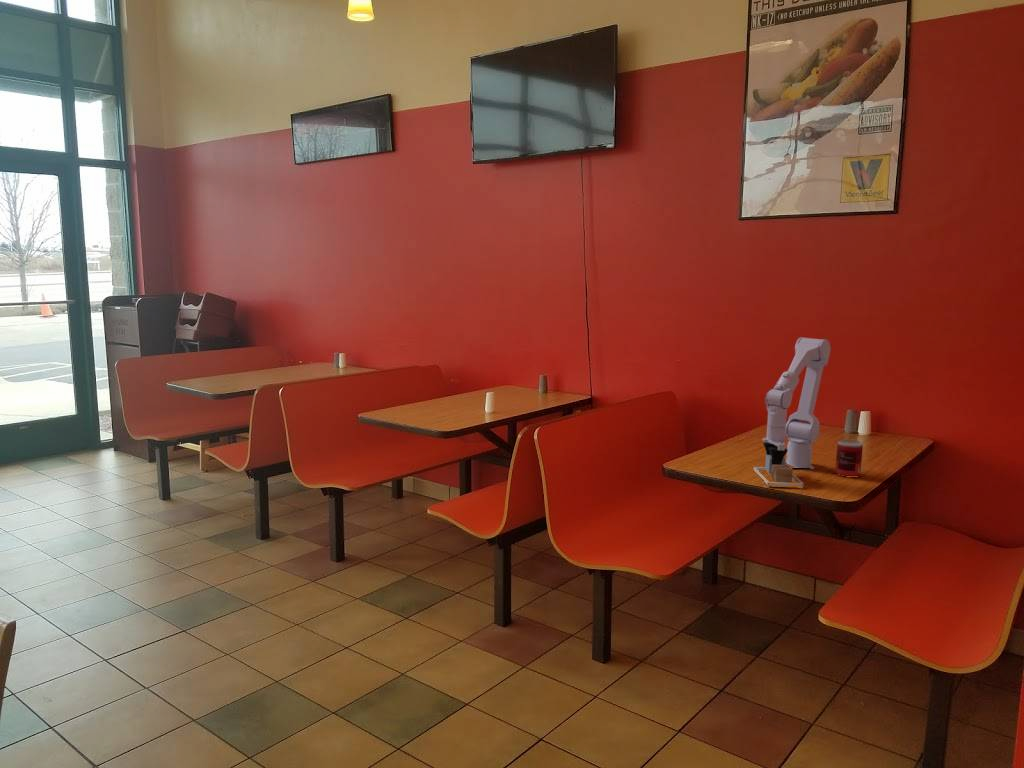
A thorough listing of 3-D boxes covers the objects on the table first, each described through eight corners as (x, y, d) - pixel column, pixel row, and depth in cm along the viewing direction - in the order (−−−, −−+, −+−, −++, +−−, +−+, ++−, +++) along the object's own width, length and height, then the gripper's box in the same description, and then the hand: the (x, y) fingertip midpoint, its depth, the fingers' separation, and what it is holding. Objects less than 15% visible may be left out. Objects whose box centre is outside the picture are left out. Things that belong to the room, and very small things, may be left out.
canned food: (853, 471, 261) (856, 439, 259) (864, 478, 253) (867, 445, 251) (830, 471, 261) (833, 439, 259) (841, 478, 253) (844, 445, 251)
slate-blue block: (764, 469, 258) (766, 454, 257) (780, 469, 258) (781, 455, 257) (768, 473, 253) (769, 458, 252) (784, 474, 253) (785, 459, 252)
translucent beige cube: (771, 479, 249) (772, 464, 248) (787, 480, 249) (788, 464, 248) (775, 484, 244) (776, 468, 244) (791, 484, 244) (792, 469, 243)
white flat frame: (753, 471, 260) (753, 466, 260) (786, 472, 259) (787, 467, 259) (767, 487, 242) (767, 482, 242) (803, 488, 241) (803, 483, 241)
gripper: (758, 421, 260) (755, 460, 262) (769, 430, 246) (767, 472, 248) (779, 421, 260) (777, 460, 262) (792, 431, 245) (789, 472, 248)
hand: (773, 466), depth 255 cm, fingers closed on slate-blue block, 5 cm apart
